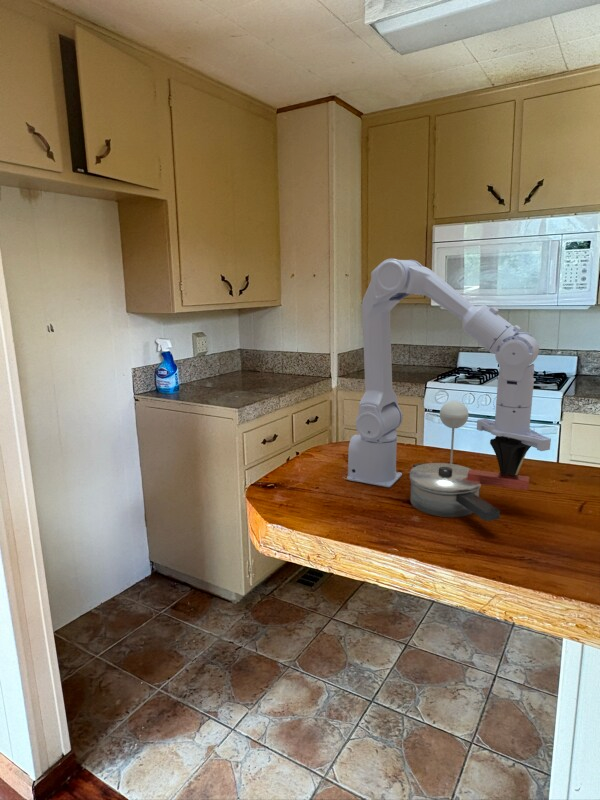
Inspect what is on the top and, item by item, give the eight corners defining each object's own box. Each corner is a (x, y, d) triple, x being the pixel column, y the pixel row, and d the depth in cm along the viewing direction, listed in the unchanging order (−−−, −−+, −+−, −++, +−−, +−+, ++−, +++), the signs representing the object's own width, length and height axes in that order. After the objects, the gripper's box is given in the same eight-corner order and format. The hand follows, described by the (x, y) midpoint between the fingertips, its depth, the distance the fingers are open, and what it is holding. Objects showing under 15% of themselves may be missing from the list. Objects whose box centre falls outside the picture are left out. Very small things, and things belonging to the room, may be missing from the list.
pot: (384, 517, 91) (385, 492, 90) (415, 481, 107) (415, 460, 106) (496, 541, 83) (498, 513, 82) (511, 498, 99) (513, 475, 98)
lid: (403, 486, 93) (403, 475, 92) (417, 463, 104) (417, 453, 104) (527, 504, 85) (529, 492, 85) (528, 477, 96) (529, 467, 96)
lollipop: (433, 463, 118) (436, 398, 114) (458, 462, 118) (462, 397, 115) (442, 473, 112) (446, 404, 108) (469, 472, 112) (474, 404, 109)
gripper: (466, 398, 96) (461, 469, 99) (531, 416, 83) (524, 496, 86) (494, 394, 99) (489, 463, 102) (562, 410, 86) (554, 488, 89)
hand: (507, 478), depth 94 cm, fingers closed
